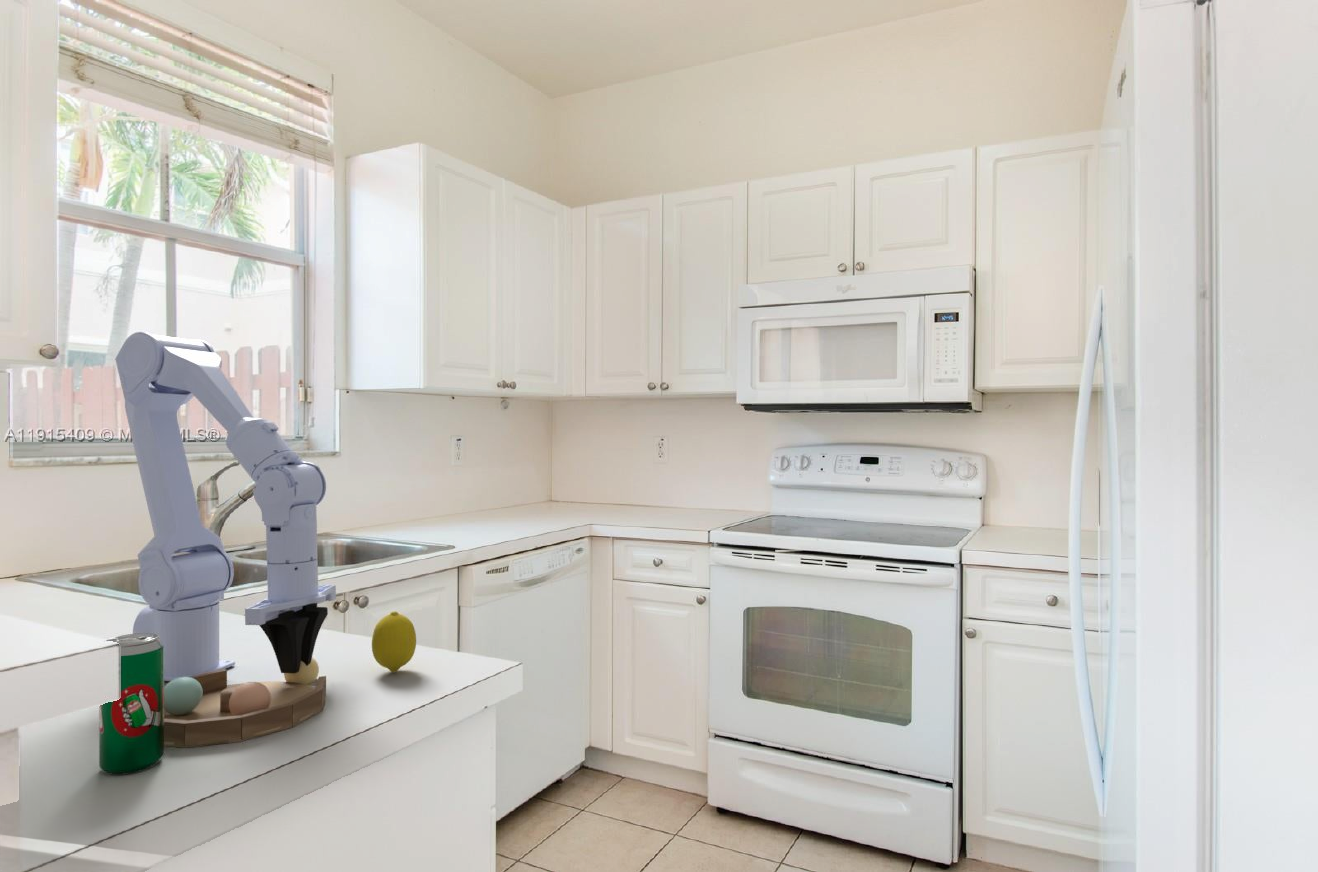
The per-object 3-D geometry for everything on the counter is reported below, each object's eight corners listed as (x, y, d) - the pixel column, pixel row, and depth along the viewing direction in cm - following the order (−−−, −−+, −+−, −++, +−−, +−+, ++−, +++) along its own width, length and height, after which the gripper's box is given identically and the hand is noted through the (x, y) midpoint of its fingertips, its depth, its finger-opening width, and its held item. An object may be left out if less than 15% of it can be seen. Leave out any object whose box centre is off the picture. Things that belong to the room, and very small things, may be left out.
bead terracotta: (220, 724, 82) (220, 687, 82) (247, 711, 86) (247, 675, 86) (253, 727, 81) (253, 689, 81) (278, 714, 85) (279, 678, 85)
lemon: (402, 680, 98) (402, 617, 98) (363, 677, 99) (363, 615, 99) (424, 667, 104) (424, 607, 104) (386, 664, 105) (386, 605, 105)
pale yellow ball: (297, 661, 101) (283, 690, 98) (289, 646, 98) (274, 676, 95) (327, 666, 101) (313, 695, 98) (320, 652, 98) (305, 681, 95)
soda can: (120, 755, 75) (120, 632, 75) (174, 753, 76) (174, 630, 76) (86, 778, 70) (86, 646, 70) (145, 776, 71) (145, 644, 71)
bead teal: (151, 718, 84) (151, 682, 84) (180, 706, 88) (180, 671, 88) (182, 721, 83) (182, 684, 83) (211, 708, 87) (211, 673, 87)
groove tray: (81, 738, 79) (81, 714, 79) (222, 680, 98) (222, 661, 98) (245, 753, 76) (245, 729, 76) (358, 690, 94) (358, 670, 94)
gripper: (281, 570, 88) (284, 689, 88) (355, 551, 103) (358, 654, 103) (228, 570, 90) (230, 687, 90) (307, 551, 104) (310, 653, 104)
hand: (295, 669), depth 96 cm, fingers closed
